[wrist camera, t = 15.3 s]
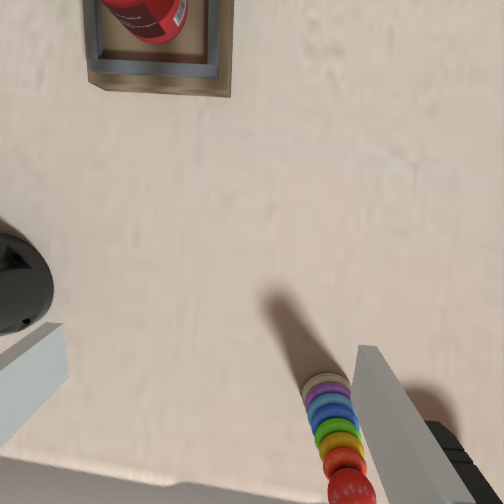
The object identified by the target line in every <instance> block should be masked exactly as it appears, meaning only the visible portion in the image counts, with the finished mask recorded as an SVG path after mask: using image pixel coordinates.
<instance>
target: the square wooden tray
mask: <svg viewBox="0 0 504 504" xmlns="http://www.w3.org/2000/svg"><path fill="white" fill-rule="evenodd" d="M83 12H84V26H85V41H86V56H87V71H88V82H89V83H91V84H93V85H95V86H97V87H99V88H101V89H103V90H105V91H120V92H138V93H157V94H175V95H193V96H212V97H230V98H231V74H232V47H233V21H234V0H188V11H187V17H186V21H185V24H184V26H183V28H182V30H181V31H180V32H179V34H178V35H177V36H176V37H175V38H173V39H172V40H171V41H168V42H166V43H163V44H151V43H147V42H143V41H141V40H140V39H138V38H136V37H135V36H134V35H133V34H131V33H130V32H129V31H128V30H127V29H126V28H125V27H124V26H123V25H122V24H121V22H120V21H119V20H118V19H117V18H116V17H115V16H114V15H113V14H112V13H111V12H110V11H109V10H108V9H107V8H106V7H105V6H104V5H103V4H102V3H101V2H100V1H99V0H83Z"/></svg>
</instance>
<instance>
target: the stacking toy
mask: <svg viewBox="0 0 504 504" xmlns="http://www.w3.org/2000/svg"><path fill="white" fill-rule="evenodd" d="M351 390H352V387H351V385H350V383H349V382H348V381H347V380H346V379H345V378H343V377H341V376H339V375H337V374H333V373H322V374H318V375H316V376H314V377H312V378H311V379H309V380H308V381H307V383H306V384H305V385H304V388H303V391H302V401H303V404H304V406H305V408H306V413H307V415H308V421H309V424H310V426H311V429H312V433H313V435H314V437H315V444H316V447H317V449H318V450H319V454H320V458H321V460H322V462H323V471H324V474H325V476H326V478H327V479H328V480H329V484H328V500H329V504H376V495H375V491H374V489H373V486H372V485H371V483H370V481H369V480H368V479H367V477H366V472H367V466H366V462H365V460H364V448H363V446H362V444H361V435H360V433H359V422H358V419H357V415H356V413H355V410H354V407H353V405H352V402H351V399H350V396H351Z"/></svg>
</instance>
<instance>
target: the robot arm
mask: <svg viewBox="0 0 504 504" xmlns="http://www.w3.org/2000/svg"><path fill="white" fill-rule="evenodd" d="M53 293H54V287H53V280H52V276H51V273H50V271H49V269H48V267H47V265H46V263H45V262H44V260H43V259H42V257H41V256H40V255H39V254H38V253H37V252H36V251H35V250H34V249H33V248H32V247H31V246H30V245H28V244H27V243H25V242H24V241H22V240H20V239H19V238H16V237H14V236H11V235H8V234H4V233H0V336H4V335H8V334H12V333H16V332H19V331H21V330H24V329H26V328H28V327H29V326H31V325H32V324H34V323H35V322H37V321H38V320H40V319H41V318H42V317H43V316H44V315H45V314H46V313H47V311H48V310H49V308H50V306H51V303H52V300H53ZM68 377H69V373H68V364H67V354H66V344H65V335H64V325H63V323H50V322H46V323H45V324H43V325H42V326H40V327H39V328H37V329H36V330H35V331H33V332H32V333H30V334H29V335H27V336H26V337H24V338H23V339H22V340H20V341H19V342H17V343H16V344H14V345H13V346H11V347H10V348H9V349H7V350H6V351H4V352H3V353H1V354H0V449H1V448H2V447H3V445H4V444H5V443H6V442H7V441H8V440H9V439H10V438H11V437H12V436H13V435H14V434H15V433H16V432H17V431H18V430H19V429H20V428H21V427H22V426H23V424H24V423H25V422H26V421H27V420H28V419H29V418H30V417H31V416H32V415H33V414H34V413H35V412H36V411H37V410H38V409H39V408H40V407H41V406H42V405H43V403H44V402H45V401H46V400H47V399H48V398H49V397H50V396H51V395H52V394H53V393H54V392H55V391H56V390H57V389H58V388H59V387H60V386H61V385H62V384H63V382H64V381H65V380H66V379H67V378H68ZM350 399H351V402H352V405H353V407H354V410H355V413H356V415H357V418H358V421H359V423H360V426H361V429H362V431H363V434H364V437H365V439H366V442H367V445H368V447H369V450H370V453H371V455H372V458H373V461H374V464H375V466H376V469H377V472H378V474H379V477H380V480H381V482H382V485H383V488H384V490H385V493H386V496H387V498H388V501H389V504H503V503H502V501H501V500H500V498H499V497H498V496H497V494H496V493H495V491H494V490H493V489H492V487H491V486H490V484H489V483H488V482H487V480H486V479H485V478H484V476H483V475H482V473H481V472H480V471H479V469H478V468H477V466H476V465H474V464H473V461H472V459H471V458H470V457H469V455H468V454H467V452H465V451H464V448H463V447H462V445H461V444H460V443H459V441H458V440H457V438H456V437H455V436H454V434H452V433H451V432H450V431H449V430H448V429H447V428H445V427H444V426H443V425H442V424H441V423H440V422H437V421H425V420H423V419H422V417H421V415H420V414H419V412H418V411H417V409H416V408H415V406H414V404H413V403H412V401H411V400H410V398H409V397H408V395H407V393H406V392H405V390H404V389H403V387H402V386H401V384H400V382H399V381H398V379H397V378H396V376H395V375H394V373H393V371H392V370H391V368H390V367H389V365H388V364H387V362H386V360H385V359H384V357H383V356H382V354H381V353H380V351H379V349H378V348H377V346H366V345H359V347H358V353H357V359H356V365H355V372H354V378H353V384H352V390H351V396H350Z"/></svg>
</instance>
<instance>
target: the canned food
mask: <svg viewBox="0 0 504 504" xmlns="http://www.w3.org/2000/svg"><path fill="white" fill-rule="evenodd" d="M99 1H100V2H101V3H102V4H103V5H104V6H105V7H106V8H107V9H108V10H109V11H110V12H111V13H112V14H113V15H114V16H115V17H116V18H117V19H118V20H119V21H120V22H121V24H122V25H123V26H124V27H125V28H126V29H127V30H128V31H129V32H130V33H131V34H133V35H134V36H135V37H136V38H138V39H140V40H141V41H143V42H147V43H151V44H163V43H166V42H168V41H171V40H172V39H173V38H175V37H176V36H177V35H178V34H179V32H180V31H181V30H182V28H183V26H184V24H185V21H186V17H187V11H188V0H99Z"/></svg>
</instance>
